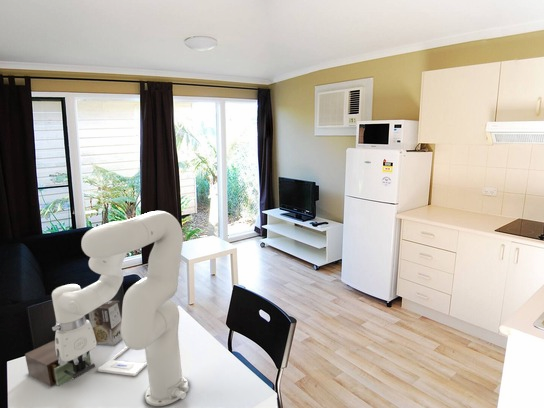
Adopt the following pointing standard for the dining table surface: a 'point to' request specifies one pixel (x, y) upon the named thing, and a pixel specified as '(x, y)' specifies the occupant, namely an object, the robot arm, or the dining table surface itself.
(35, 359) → the cabinet
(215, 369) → the dining table surface
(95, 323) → the coffee box
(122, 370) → the photo frame
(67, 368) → the drawer
